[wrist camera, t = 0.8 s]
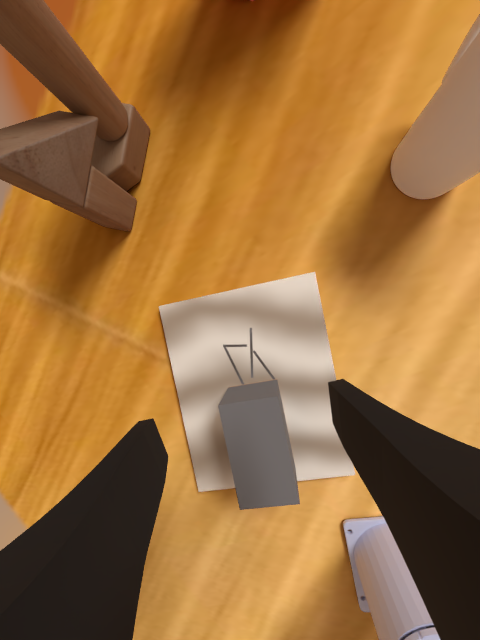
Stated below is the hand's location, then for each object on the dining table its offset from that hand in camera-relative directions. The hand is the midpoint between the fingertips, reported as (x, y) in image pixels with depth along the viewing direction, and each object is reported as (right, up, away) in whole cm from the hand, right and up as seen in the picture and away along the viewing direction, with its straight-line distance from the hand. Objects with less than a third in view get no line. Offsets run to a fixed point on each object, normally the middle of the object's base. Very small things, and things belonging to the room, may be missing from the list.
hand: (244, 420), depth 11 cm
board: (+1, -3, +17) cm, 17 cm away
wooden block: (-12, +19, +18) cm, 29 cm away
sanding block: (+2, -7, +16) cm, 17 cm away
